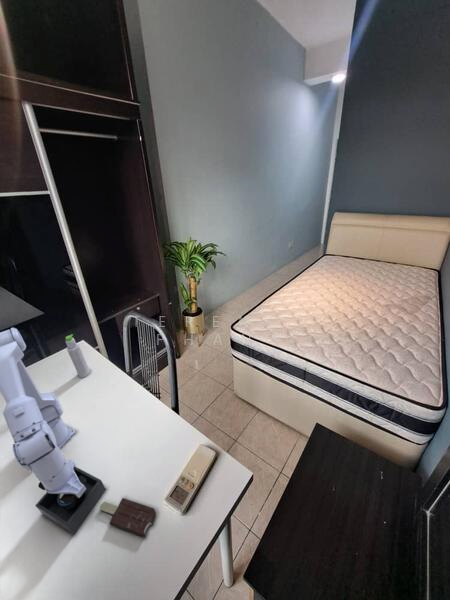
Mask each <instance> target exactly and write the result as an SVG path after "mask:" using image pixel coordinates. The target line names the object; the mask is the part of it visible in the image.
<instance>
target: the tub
mask: <svg viewBox="0 0 450 600" xmlns="http://www.w3.org/2000/svg"><path fill="white" fill-rule="evenodd" d="M73 470H74V472H75V473H76V475H77V477H78V478H79V477H80V476H83V477H84V478H85V479H86V483H85V488H86V490H85V491H84V498H83V500H82V501H81V502H80V504H79V505H78V506H75V507H73V508H71V509H69V510H64V509H62V508H61V506H60V505H59V504H58V501H57V498H58V495H57V494H51V493H48V492H47V491H45V494H44V495H43V496H42V497H41V498H40V499H39V500H38V502H36V504H35V505H34V506H35V507H36V509H37V510H38V511H39V512H40V513H41V514H42V515H43V516H44V517H46V518H47V519H49V520H50V521H52V522H54V523H55V524H57V525H58V526H59V527H61V528H63V529H64V530H65V531H67V532H69V533H70V534H72V535H73V536H75V535H76V533H77V532H78V530H79V529H80V528H81V526H82V525H83V523H84V522H85V520H86V519H87V517H88V516H89V515H90V513H91V512H92V510H93V509H94V508H95V506H96V505H97V503H98V501H100V499H101V497H102V496H103V495H104V493H105V492H106V490H107V488H106V487H105V485H104V484H103V481H102V479H100V478H98V477H96V476H94V475H92V474H91V473H88V471H87V472H86V471H84V470H82V469H80V468H78V467H77V466H76V465H75V466H74V468H73Z"/></svg>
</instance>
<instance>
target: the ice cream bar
mask: <svg viewBox="0 0 450 600" xmlns="http://www.w3.org/2000/svg"><path fill="white" fill-rule="evenodd" d="M99 510H100V511H102V512H104V513H107V514H110V515H112V516H111V518H110V520H109V524H110V525H111V526H112V527H113V526H114V527H116V528H118V529H120V530H124V531H126V532H129V533H132V534H135V535H138V536H140V537H143V538H144V537H146V534H147V530H148V529H149V527H150V526H153V525H154V523H155V520H156V517H157V512H156V510H155V508H154V507H152V506H148V505H146V504H143V503H139V502H136V501H134V500H130V499H127V498H125V497H121V500H120V502H119V504H118V505H115V504H112V503H110V502H106V501H104V502H102V503H101V504H100V505H99Z"/></svg>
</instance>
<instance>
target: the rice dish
mask: <svg viewBox="0 0 450 600" xmlns="http://www.w3.org/2000/svg"><path fill="white" fill-rule="evenodd" d="M63 495H64V494H58V498H57V501H58V504H59V505H60V506H61V508H62V509H64V510H69V509H71V508H73V507H75V506H76V505H74V504H73V503H69V504H66V503H64V502H62V501H61V500H60V498H61V497H62V496H63Z"/></svg>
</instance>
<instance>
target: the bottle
mask: <svg viewBox="0 0 450 600" xmlns="http://www.w3.org/2000/svg"><path fill="white" fill-rule="evenodd" d="M73 336H74V334H73V333H71V334H70V335H66V336H65V344H66V351H67V353H68V355H69V357H70V359H71V362H72V364H73V366H74V368H75V370H76V373H77V375H78V377H79V378H85V377H87V376H89V375H90V373H91V371H90V368H89V365H88V363H87V360H86V358H85V357H84V354H83V351H82V349H81V347H80V344H79V343H77V342H76V340H75V338H74V337H73Z"/></svg>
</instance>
